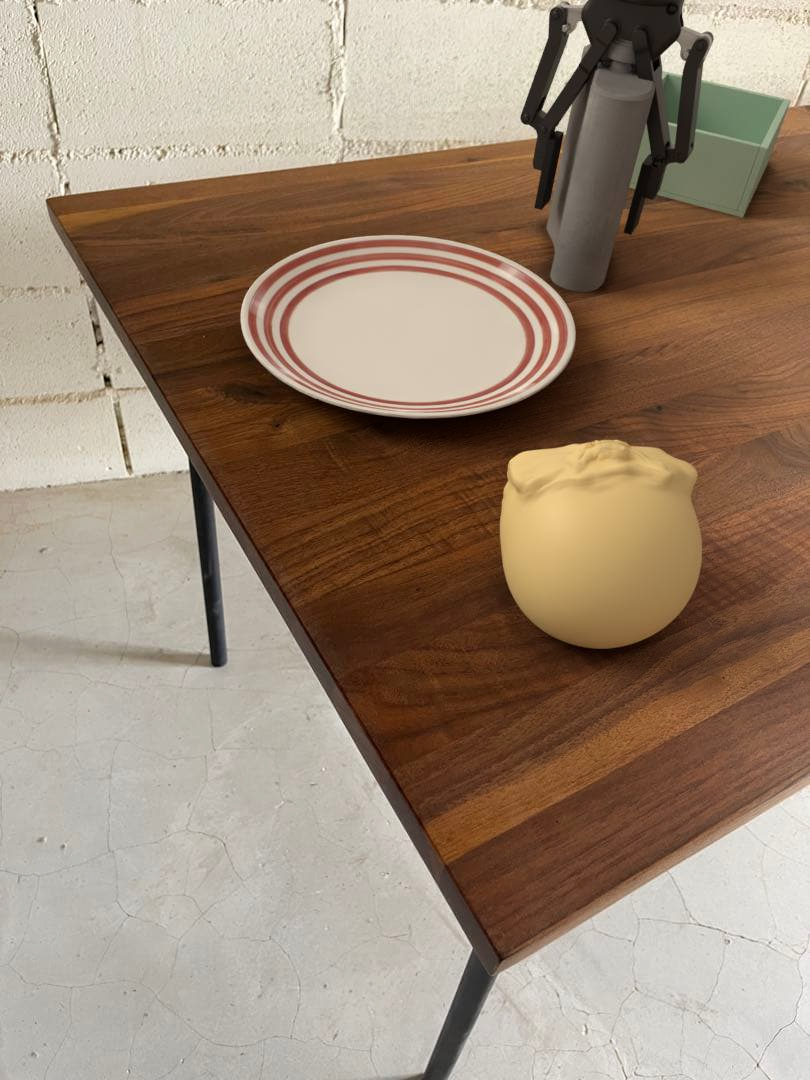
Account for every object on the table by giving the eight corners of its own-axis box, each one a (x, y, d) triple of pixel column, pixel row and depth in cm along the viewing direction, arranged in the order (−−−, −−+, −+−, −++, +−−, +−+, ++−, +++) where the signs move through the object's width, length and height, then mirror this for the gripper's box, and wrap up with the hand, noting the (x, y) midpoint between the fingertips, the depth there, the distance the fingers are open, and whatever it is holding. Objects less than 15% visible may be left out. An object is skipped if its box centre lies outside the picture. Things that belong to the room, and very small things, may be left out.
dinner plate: (312, 481, 61) (313, 443, 59) (201, 289, 78) (198, 254, 76) (632, 405, 71) (643, 370, 69) (472, 248, 88) (477, 216, 86)
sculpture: (635, 527, 61) (683, 399, 53) (700, 667, 53) (767, 539, 45) (473, 534, 59) (499, 402, 52) (514, 680, 51) (551, 549, 43)
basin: (766, 165, 110) (791, 99, 105) (741, 220, 98) (767, 148, 93) (645, 135, 114) (662, 70, 109) (607, 184, 102) (624, 113, 97)
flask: (611, 298, 83) (675, 68, 69) (550, 291, 83) (601, 60, 69) (599, 227, 94) (652, 15, 80) (544, 220, 94) (588, 8, 80)
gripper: (509, -79, 70) (471, 201, 86) (779, -27, 65) (684, 261, 80) (540, -92, 75) (498, 175, 91) (792, -45, 70) (701, 230, 85)
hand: (586, 215), depth 86 cm, fingers open, 8 cm apart
